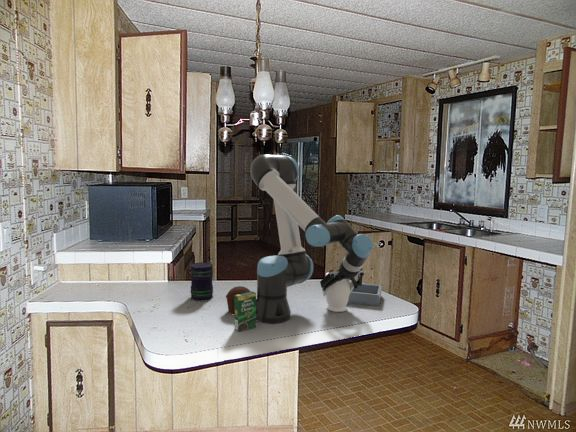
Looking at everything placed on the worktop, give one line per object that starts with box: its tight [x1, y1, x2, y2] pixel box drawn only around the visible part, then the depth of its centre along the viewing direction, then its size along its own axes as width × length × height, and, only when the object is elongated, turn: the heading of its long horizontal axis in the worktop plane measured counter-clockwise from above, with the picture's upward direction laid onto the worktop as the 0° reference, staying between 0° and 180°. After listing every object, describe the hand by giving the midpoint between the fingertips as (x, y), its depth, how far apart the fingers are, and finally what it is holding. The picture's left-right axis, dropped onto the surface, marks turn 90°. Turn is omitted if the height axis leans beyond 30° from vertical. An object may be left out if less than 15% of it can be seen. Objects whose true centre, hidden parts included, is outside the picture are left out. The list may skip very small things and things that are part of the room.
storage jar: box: [190, 261, 214, 302], centre depth 183 cm, size 10×10×15 cm
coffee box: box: [233, 291, 257, 332], centre depth 149 cm, size 8×3×13 cm, turn 127°
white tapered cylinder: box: [325, 271, 351, 313], centre depth 172 cm, size 11×10×15 cm
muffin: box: [225, 286, 252, 316], centre depth 167 cm, size 12×11×10 cm
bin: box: [347, 283, 382, 307], centre depth 187 cm, size 16×16×5 cm
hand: (335, 292), depth 174 cm, fingers closed on white tapered cylinder, 10 cm apart
